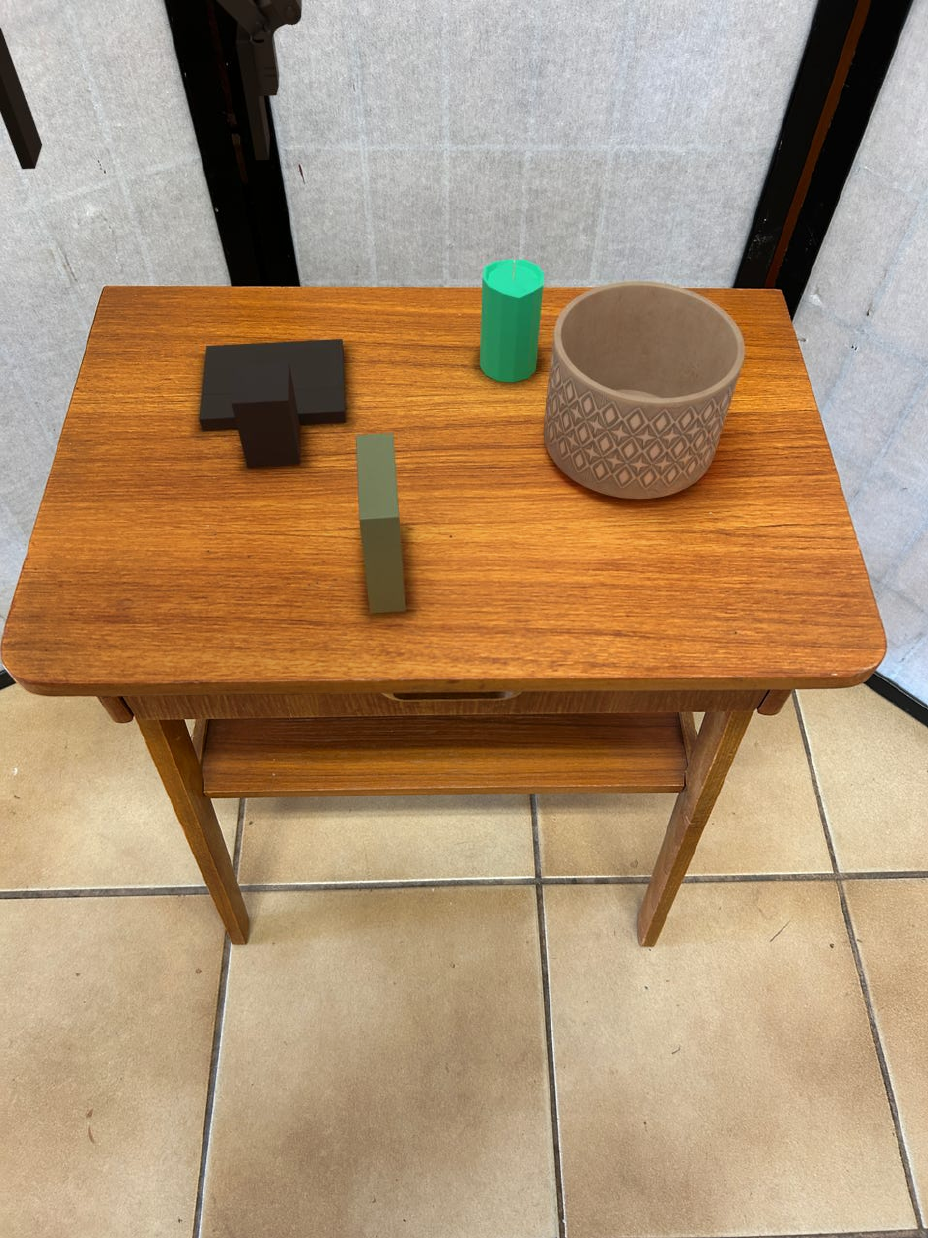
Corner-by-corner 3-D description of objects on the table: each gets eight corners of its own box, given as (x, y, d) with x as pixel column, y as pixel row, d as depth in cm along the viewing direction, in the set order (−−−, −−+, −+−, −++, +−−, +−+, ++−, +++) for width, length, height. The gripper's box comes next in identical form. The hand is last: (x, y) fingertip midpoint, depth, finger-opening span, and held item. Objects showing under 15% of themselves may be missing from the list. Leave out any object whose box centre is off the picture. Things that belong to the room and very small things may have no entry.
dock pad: (202, 430, 93) (198, 419, 92) (209, 357, 99) (206, 345, 98) (346, 422, 94) (344, 410, 92) (343, 350, 100) (342, 338, 99)
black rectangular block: (247, 468, 90) (231, 403, 83) (250, 410, 95) (235, 344, 88) (300, 464, 90) (288, 400, 84) (300, 407, 95) (289, 341, 88)
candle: (470, 373, 98) (472, 271, 88) (491, 339, 101) (496, 236, 92) (525, 388, 97) (533, 286, 87) (544, 353, 100) (555, 251, 90)
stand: (370, 614, 80) (359, 519, 70) (366, 533, 85) (355, 434, 76) (405, 611, 80) (399, 516, 71) (399, 531, 86) (393, 432, 76)
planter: (561, 517, 87) (576, 411, 76) (527, 396, 96) (537, 288, 86) (734, 499, 88) (772, 393, 78) (684, 381, 98) (712, 273, 87)
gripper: (316, -366, 43) (355, 113, 60) (-264, -364, 41) (-52, 128, 58) (317, -327, 38) (358, 177, 56) (-331, -323, 37) (-81, 195, 54)
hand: (148, 153), depth 57 cm, fingers open, 13 cm apart
